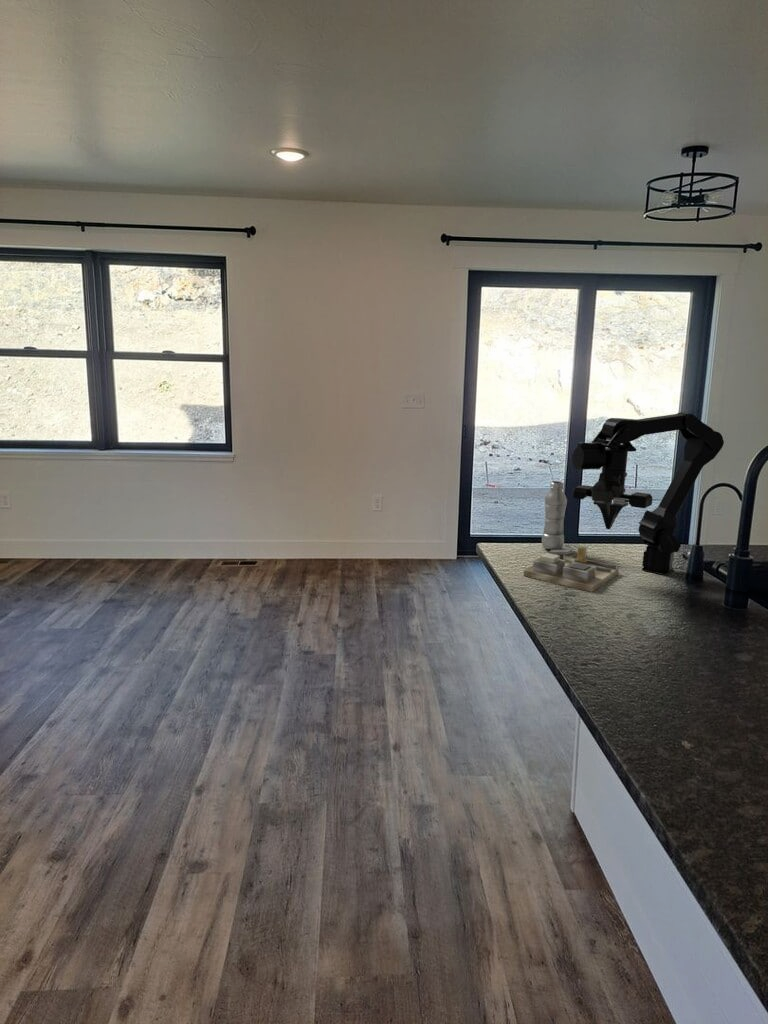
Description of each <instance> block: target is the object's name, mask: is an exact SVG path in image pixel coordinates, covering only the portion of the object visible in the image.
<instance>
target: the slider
mask: <svg viewBox="0 0 768 1024" xmlns="http://www.w3.org/2000/svg"><path fill="white" fill-rule="evenodd" d="M586 557H587V547H586V546H579V547H577V553H576V558H574V559H575V560H574V562H579V563H584V564H587V563H588V560H589V559H587V558H586Z"/></svg>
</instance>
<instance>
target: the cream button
mask: <svg viewBox="0 0 768 1024" xmlns="http://www.w3.org/2000/svg"><path fill="white" fill-rule="evenodd" d="M539 558H540V561H541V562H546V563H550V564H555V563H557V562H559V558H560V556H559V555H554V554H549V553H548V552H546V553H544V554H542V555H541V554H540V557H539Z"/></svg>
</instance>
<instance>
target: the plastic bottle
mask: <svg viewBox="0 0 768 1024" xmlns="http://www.w3.org/2000/svg"><path fill="white" fill-rule="evenodd" d="M564 484H565V483H564V482H563V481H556V480H555V481H553V480H552V481H551V482H550V486H549V488H550V491H548V493H547V494H546V495H545V497H544V510H545V511H544V512H545V514H544V515H545V519H544V520H545V521H544V528H543V533H542V535H541V536H542V537H541V546H542V548H544V549H545V550H550V551H551V550H562V548H564V547H563V546H564V544H565V535H564V521H565V515H566V514H565V513H566V508H567V504H568V498H567V496H566V494H565V492H564V491H563V490H564V489H565V488H564Z"/></svg>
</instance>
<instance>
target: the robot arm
mask: <svg viewBox="0 0 768 1024" xmlns="http://www.w3.org/2000/svg"><path fill="white" fill-rule="evenodd" d="M673 431H678V432H679V435H680V436H681V437H682V439H684V440H685V444H684V449H683V450H684V451H683V453H684V455H683V456H684V457H683V461H682V462H681V464H680V465H679V467H678V470H677V471H676V473H675V475H674V476H673V478H672V480H671V483H670V484H669V486H668V488H667V489H666V491H665V492H664V493H665V494H664V495H663V496H662V499H661V501H660V502H659V503H658V505H657V507H656V508H655V509H653V510H652V511H650V510H645V512H644V513H643V517H641V518H642V519H640V520H639V522H638V525H639V526H638V533H639V536H640V538H641V540H642V544H644V545H646V548H645V551H643V556H642V557H643V558H642V564H641V565H642V568H641V570H642V571H643V572H644V571H645V572H649V573H656V574H660V575H664V576H668V575H669V574H670V573H672V572H673V571H674V570H675V568H674V567H673V563H674V554H675V553H678V552H680V551H679V550H680V548H681V546H682V544H681V543H680V541H679V540H678V539H677V538H676V537H675V536H674V534H675V531H676V528H677V515H678V513H679V511H680V509H681V508H682V506H683V504H684V502H685V500H686V498H687V497H688V495H689V493H690V491H691V489H692V488H693V485H694V484H695V482H696V480H697V478H698V476H699V475H700V473H701V471H702V469H703V467H704V466H706V465H707V464H709V463H710V462H711V461H712V460H714V459H715V458H716V457H717V456H718V454H719V453H720V451H721V450H722V449H723V446H724V444H725V440H724V437H723V435H722V433H720V432H718V431H716V430H714V429H713V428H712V427H711V426H709V425H707V424H706V423H704V422H703V421H701V420H700V419H699V418H698V417H697V416H696V415H695V414H693V413H689V412H681V411H680V412H677V413H674V414H667V415H660V416H654V417H646V418H640V419H639V418H638V419H636V418H635V419H634V418H632V419H631V418H620V417H611V418H608V419H606V420H605V422H603V424H602V426H601V429H600V430H599V432H598V433H597V434H596V436H595V437H594V438H593V440H592V441H591V442H584V441H578V442H577V447H575V448H574V451H573V454H571V455H572V457H571V461H572V466H573V467H574V469H576V470H579V471H581V470H583V471H584V470H587V471H588V470H600V469H601V472H600V473H599V476H598V480H597V481H596V483H594V485H593V486H592V485H584V484H580V485H578V486H575V487H573V489H572V490H571V499H575V500H576V499H577V500H584V499H585V498H587V497H591V499H592V501H593V505H596V506H597V507H598V508H599V510H600V513H601V514H602V519H603V522H604V527H605V529H606V530H611V528H612V526H613V525H614V523H615V521H616V519H617V517H618V515H619V514H620V512H621V511H622V509H623V508H624V507H627V506H629V505H630V506H631V507H632V508H638V509H639V508H640V509H646V508H648V507H650V506H652V505H653V495H652V494H651V493H647V492H646V493H645V492H639V491H635V492H634V493H631V494H628V493H627V494H626V488H625V485H626V484H625V482H626V477H627V476H628V473H627V463H628V454H629V452H637V448H636V447H635V446H634V445H633V444H632V441H636V440H638V439H640V438H641V437H643V436H647V435H654V434H659V433H666V432H673ZM672 570H673V571H672Z"/></svg>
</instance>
